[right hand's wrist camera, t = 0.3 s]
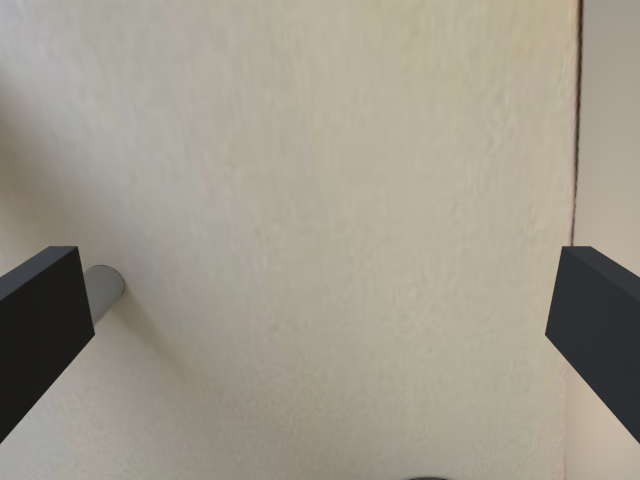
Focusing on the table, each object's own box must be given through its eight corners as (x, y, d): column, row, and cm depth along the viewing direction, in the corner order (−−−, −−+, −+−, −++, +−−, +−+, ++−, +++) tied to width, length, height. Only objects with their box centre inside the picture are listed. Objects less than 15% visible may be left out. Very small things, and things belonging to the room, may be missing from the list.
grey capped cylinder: (76, 285, 46) (-63, 409, 30) (96, 257, 45) (-36, 368, 28) (111, 308, 47) (-4, 440, 31) (132, 281, 46) (24, 402, 29)
